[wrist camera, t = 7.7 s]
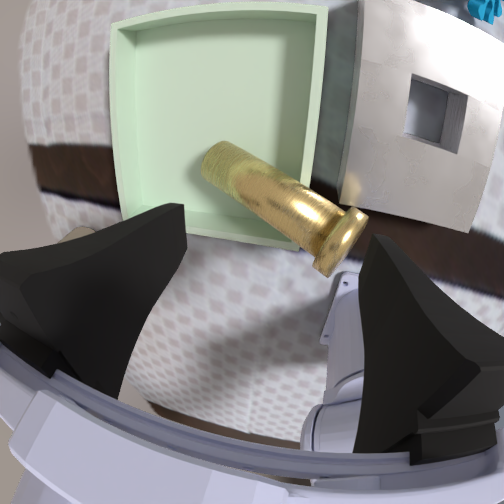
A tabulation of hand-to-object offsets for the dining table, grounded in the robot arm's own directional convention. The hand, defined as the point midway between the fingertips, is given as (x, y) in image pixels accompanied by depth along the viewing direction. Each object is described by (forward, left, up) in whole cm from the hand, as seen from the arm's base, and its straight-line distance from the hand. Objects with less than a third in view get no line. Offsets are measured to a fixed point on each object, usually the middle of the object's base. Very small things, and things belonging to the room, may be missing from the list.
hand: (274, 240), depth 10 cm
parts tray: (+3, +6, -10) cm, 12 cm away
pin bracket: (+6, -8, -10) cm, 14 cm away
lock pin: (0, +5, -8) cm, 10 cm away
